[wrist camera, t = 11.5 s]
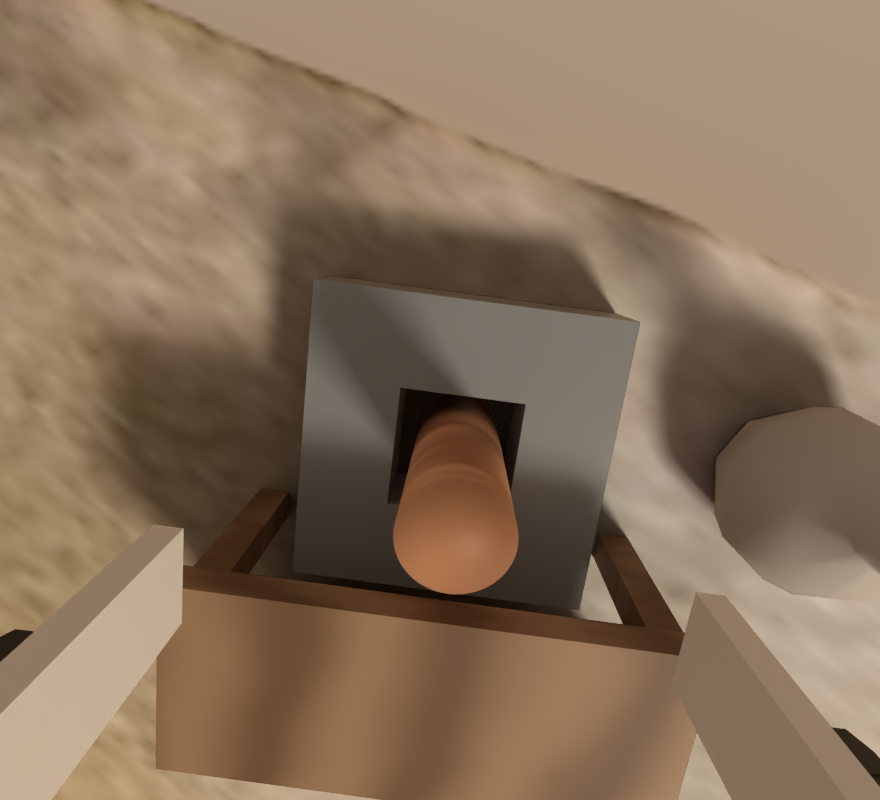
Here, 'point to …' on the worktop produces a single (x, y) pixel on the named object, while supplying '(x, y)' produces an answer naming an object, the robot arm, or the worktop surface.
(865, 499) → the potion bottle
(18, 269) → the worktop surface
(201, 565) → the wooden bench
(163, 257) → the worktop surface
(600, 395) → the socket block
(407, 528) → the peg
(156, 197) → the worktop surface
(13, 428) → the worktop surface
